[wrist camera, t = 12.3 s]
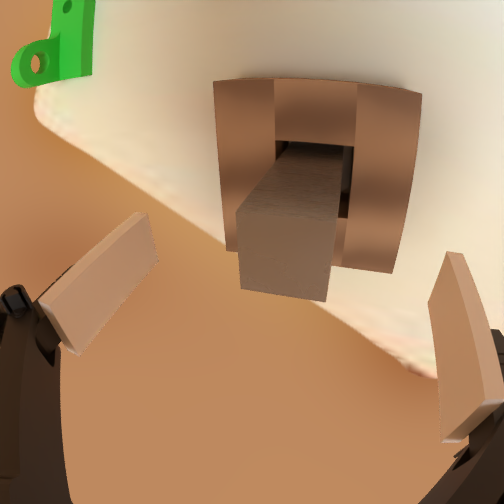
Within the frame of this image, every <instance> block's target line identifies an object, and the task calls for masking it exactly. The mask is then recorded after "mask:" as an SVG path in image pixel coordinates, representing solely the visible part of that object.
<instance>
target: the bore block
mask: <svg viewBox="0 0 504 504" xmlns="http://www.w3.org/2000/svg"><path fill="white" fill-rule="evenodd" d="M213 88H214V104H215V119H216V133H217V147H218V160H219V172H220V185H221V196H222V208H223V219H224V230H225V241H226V250H227V251H231V252H238V243H237V229H236V215H235V211H236V210H237V209H238V208H239V206H240V205H241V204H242V202H243V201H244V200H245V199H246V197H247V196H248V195H249V194H250V192H251V191H252V190H253V189H254V187H255V186H256V185H257V184H258V182H259V181H260V180H261V179H262V177H263V176H264V175H265V174H266V173H267V171H268V170H269V169H270V168H271V166H272V165H273V164H274V163H275V161H276V160H277V159H278V158H279V157H280V155H281V154H282V153H283V152H284V151H285V149H286V148H287V147H288V146H289V144H290V143H291V142H292V141H299V142H312V143H324V144H334V145H344V155H343V169H342V182H341V192H340V202H339V211H338V220H337V228H336V236H335V244H334V251H333V258H332V265H331V266H339V267H346V268H353V269H360V270H368V271H375V272H382V273H389V274H392V272H393V268H394V264H395V261H396V257H397V253H398V249H399V245H400V240H401V236H402V232H403V227H404V222H405V218H406V213H407V208H408V203H409V197H410V192H411V186H412V180H413V174H414V167H415V160H416V153H417V145H418V137H419V127H420V117H421V104H422V94H421V93H417V92H414V91H410V90H406V89H401V88H395V87H389V86H382V85H375V84H367V83H358V82H349V81H338V80H324V79H305V78H244V79H232V80H222V81H214V82H213Z"/></svg>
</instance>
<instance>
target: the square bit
mask: <svg viewBox="0 0 504 504" xmlns="http://www.w3.org/2000/svg"><path fill="white" fill-rule="evenodd" d="M343 155H344V145H334V144H324V143H312V142H299V141H292V142H291V143H290V144H289V146H288V147H287V148H286V149H285V151H284V152H283V153H282V154H281V155H280V157H279V158H278V159H277V160H276V161H275V163H274V164H273V165H272V166H271V168H270V169H269V170H268V171H267V173H266V174H265V175H264V176H263V177H262V179H261V180H260V181H259V182H258V184H257V185H256V186H255V187H254V189H253V190H252V191H251V192H250V194H249V195H248V196H247V197H246V199H245V200H244V201H243V202H242V204H241V205H240V206H239V208H238V209H237V210H236V211H235V215H236V229H237V243H238V257H239V271H240V284H241V289H246V290H252V291H258V292H264V293H271V294H276V295H282V296H288V297H295V298H301V299H308V300H314V301H321V302H326V297H327V291H328V285H329V278H330V272H331V265H332V258H333V251H334V244H335V236H336V228H337V220H338V211H339V202H340V192H341V182H342V169H343Z"/></svg>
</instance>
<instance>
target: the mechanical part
mask: <svg viewBox="0 0 504 504" xmlns="http://www.w3.org/2000/svg"><path fill="white" fill-rule="evenodd" d="M94 12H95V0H53V9H52V21H51V34H50V37H49V39H45V40H39V41H35V42H32V43H30V44H28V45H26V46H24V47H22V48H21V49H20V50H19V51H18V52H17V53H16V55H15V57H14V58H13V61H12V64H11V75H12V78H13V80H14V82H15V83H16V84H17V85H18V86H20V87H22V88H31V87H35V86H39V85H43V84H47V83H51V82H55V81H59V80H65V79H70V78H76V77H82V76H87V75H92V46H93V26H94ZM34 55H37V56H38V58H39V60H40V68H39V70H38V72H37V73H36V74H35V73H34V72H33V71H32V69H31V59H32V57H33V56H34Z"/></svg>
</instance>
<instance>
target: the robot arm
mask: <svg viewBox="0 0 504 504" xmlns="http://www.w3.org/2000/svg"><path fill="white" fill-rule="evenodd" d="M158 261H159V260H158V256H157V252H156V248H155V244H154V240H153V236H152V232H151V227H150V222H149V218H148V214H147V213H137V212H135V213H134V214H132V215H131V216H130V217H129V218H127V219H126V220H125V221H124V222H123V223H121V224H120V225H119V226H118V227H117V228H115V229H114V230H113V231H112V232H111V233H110V234H108V235H107V236H106V237H105V238H104V239H103V240H101V241H100V242H99V243H98V244H97V245H96V246H95V247H93V248H92V249H91V250H90V251H89V252H88V253H87V254H86V255H84V256H83V257H82V258H81V259H80V260H79V261H78V262H77V263H76V264H74V265H72V266H71V267H69V268H68V269H67V270H66V271H65V272H64V273H63V274H62V276H60V277H59V278H58V279H56V282H53V283H52V284H51V286H49V287H48V288H47V289H46V290H45V291H44V292H43V293H42V294H41V295H40V296H39V297H38V298H37V299H36V300H35V301H34V302H33V303H32V302H31V299H30V298H29V296H28V294H27V292H26V290H25V288H24V287H23V286H22V285H14V286H11V287H9V288H8V289H7V290H5V291H4V292H3V293H2V294H1V296H0V504H73V503H72V501H71V498H70V494H69V488H68V483H67V476H66V469H65V461H64V452H63V442H62V429H61V410H60V359H61V351H60V347H59V346H58V344H59V343H60V342H61V341H62V342H63V344H64V345H65V347H66V348H67V350H68V351H70V352H72V353H74V354H76V355H78V356H81V354H82V353H83V352H84V350H85V349H86V348H87V346H88V345H89V344H90V343H91V342H92V340H93V339H94V338H95V336H96V335H97V334H98V333H99V331H100V330H101V329H102V328H103V326H104V325H105V324H106V323H107V321H108V320H109V319H110V318H111V317H112V315H113V314H114V313H115V312H116V310H117V309H118V308H119V306H121V305H122V303H123V302H124V301H125V300H126V299H127V297H128V296H129V295H130V294H131V292H132V291H133V290H134V289H135V288H136V287H137V286H138V285H139V283H140V282H141V281H142V280H143V279H144V278H145V276H146V275H147V274H148V273H149V272H150V271H151V269H152V268H153V267H154V266H155V265H156V264H157V263H158ZM428 308H429V314H430V320H431V326H432V333H433V340H434V348H435V356H436V366H437V376H438V390H439V408H440V443H453V442H454V443H455V442H460V441H462V440H463V439H464V438H465V437H466V436H468V435H469V444H468V445H467V446H466V447H464V448H463V449H462V450H460V451H459V452H458V453H457V454H456V455H454V458H456V457H458V458H457V459H456V460H455V462H454V463H453V464H452V465H451V467H450V468H449V469H448V470H447V472H446V473H445V474H444V475H443V476H442V478H441V479H440V480H439V481H438V482H437V484H436V485H435V486H434V487H433V488H432V489H431V491H430V492H429V493H428V494H427V495H426V496H425V497H424V498H423V499H422V500H421V501H420V502H419V503H418V504H504V336H503V335H502V333H501V332H500V331H499V330H496V329H490V327H489V323H488V320H487V317H486V314H485V311H484V308H483V305H482V302H481V299H480V296H479V294H478V291H477V288H476V286H475V283H474V280H473V278H472V275H471V273H470V270H469V268H468V265H467V263H466V260H465V258H464V256H463V254H461V253H455V252H449V251H447V252H446V255H445V258H444V261H443V264H442V267H441V270H440V272H439V275H438V278H437V280H436V283H435V286H434V288H433V291H432V293H431V296H430V298H429V301H428Z"/></svg>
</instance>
